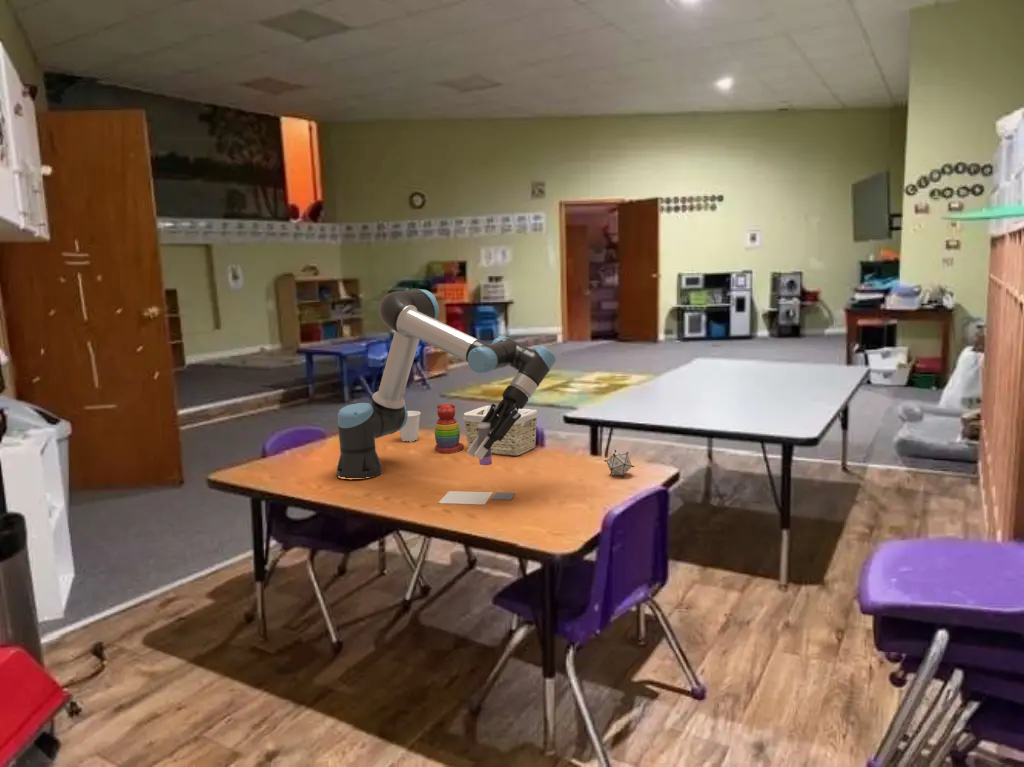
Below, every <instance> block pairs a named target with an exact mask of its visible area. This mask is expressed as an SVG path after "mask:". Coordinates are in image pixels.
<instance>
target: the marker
mask: <svg viewBox="0 0 1024 767" xmlns="http://www.w3.org/2000/svg"><path fill="white" fill-rule="evenodd" d="M477 425H478V441H479V446H480V445H481V444H482V442H483V441H484V439H485V438H486V437H487V436H488V434H490V423H488V422H482V423H478V424H477ZM488 437H489V436H488ZM489 438H490V437H489ZM478 459H479V458H478ZM492 459H493V458H492V453H491V447H490V449H489V450H488V451H487V453H486V454H485V455H484V457H483V458H482V460H480V459H479V465H480V466H491V465H492V464H493V460H492Z"/></svg>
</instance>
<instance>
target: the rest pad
mask: <svg viewBox="0 0 1024 767" xmlns="http://www.w3.org/2000/svg"><path fill="white" fill-rule="evenodd" d="M515 496H516V492H503V491H501V492H500V491H499V492H498V491H497V492H496V491H495V493H494V494H493V495H492V496H491V500H492V501H513V499H514V498H515ZM512 498H513V499H512Z"/></svg>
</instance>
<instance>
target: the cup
mask: <svg viewBox="0 0 1024 767" xmlns="http://www.w3.org/2000/svg"><path fill="white" fill-rule="evenodd" d="M406 411H407V412H408V417H407V421H406V424H405V425H404V427H403V428H402V429H400V430H399V434H400V437H401V441H402V442H403V441H407V442H406V443H409V442H408V441H414V442H416V441H417V440H418V437H419V426H420V417H421V414H422V413H421V412H420V411H418V410H406ZM415 440H416V441H415Z"/></svg>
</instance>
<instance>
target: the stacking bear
mask: <svg viewBox="0 0 1024 767" xmlns="http://www.w3.org/2000/svg"><path fill="white" fill-rule="evenodd" d="M436 408H437V412H436V413H437V417H438V419H437V421H436V423H435V426H434V427H435V429H434V440H435V442H436V444H435V446H434V451H435V452H437V453H438V452H439V454H444V453H447V454H452V453H451V452H455V453H457V452H456V451H458V452H460V451H462V450H464V448H465V445H464V443H462V442H460V437H461V432H460V427H459V423H458V421H457V419H456V418H455V416H456V405H455V404H454V403H443V404H441V403H439V404H437V407H436ZM461 449H462V450H461ZM459 450H460V451H459Z"/></svg>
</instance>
